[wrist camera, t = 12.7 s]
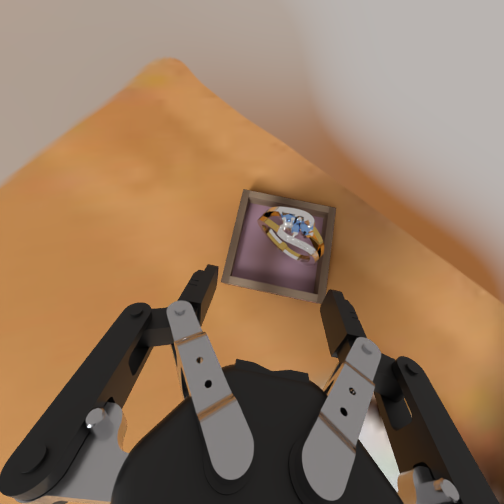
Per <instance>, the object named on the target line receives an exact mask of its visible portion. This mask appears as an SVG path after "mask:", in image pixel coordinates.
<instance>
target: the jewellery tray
mask: <svg viewBox="0 0 504 504" xmlns="http://www.w3.org/2000/svg"><path fill="white" fill-rule="evenodd" d="M272 207H289V208H295V209H300V210H303V211H306V212H307V213H309V214H310V215H312V217H313V218H314V220H315V227H316V229H317V230H318V232H319V233H320V235H321V237H322V240H323V243H324V253H323V255H322V256H321V258H320V259H319V260H318V261H317V262H316V263H315V264H314V265H313V266H311V267H308V266H304V265H301V264H299V263H297V262H295V261H293V260H291V259H290V258H289V257H287V256H286V255H285V254H283V253H281V252H280V251H279V250H278V249H277V247H276V246H275V245H274V244H273V243H272V242H271V241H270V240H269V239H268V237H267V236H266V235H265V234H264V232H263V231H262V230H261V228H260V226H259V225H258V222H257V220H258V219H259V218H260V217H261V216H262V214H263V213H265V212H266V211H267V210H268V209H270V208H272ZM335 213H336V208H334V207H329V206H324V205H319V204H314V203H309V202H304V201H299V200H294V199H290V198H285V197H280V196H275V195H270V194H265V193H260V192H255V191H250V190H245V189H243V193H242V197H241V201H240V206H239V210H238V214H237V218H236V222H235V226H234V230H233V234H232V238H231V243H230V247H229V251H228V255H227V259H226V263H225V267H224V271H223V275H222V280H221V282H222V283H225V284H230V285H234V286H239V287H244V288H248V289H253V290H258V291H262V292H267V293H272V294H276V295H281V296H286V297H290V298H295V299H300V300H304V301H309V302H314V303H320V304H322V302H323V300H324V298H325V296H326V288H327V280H328V271H329V263H330V255H331V246H332V238H333V230H334V222H335ZM269 219H270V220H272V221H273V222H275V223H276V224H277V225H279V226H280V225H282V224H283V221H281V220H280V218H279V216H272V217H269ZM304 223H305V222H304ZM305 224H306V223H305ZM306 225H307V224H306ZM307 226H308V225H307ZM271 229H272V228H271ZM272 231H273V232H274V233H275V235H276V236H277V237H278V238H279V239H280V240H281V241H283V242H284V243H286V244H287V246H288V247H289V248H290V249H291V250H293V251H294V252H296V253H298V254H301V255H305V256H309V254H308V253H307V252H306V251H305V250H303V249H301V248H299V247H297V246H295V245H292V244H290V243H288V242H286V241H284V240H283V239H281V238H280V237H279V236H278V234H277V232H276V231H275V230H273V229H272ZM284 232H285V233H287V232H286V231H284ZM287 234H288V235H290V236H291V234H290V232H289V233H287ZM295 238H296V239H299V240H301V241H303V242H305V243H307V244H309V245H310V246H312V247H313V244H312V242H311V240H310V239H309V238H307V239H305V238H303V236H302V235H301V234H299V233H298V235H297V236H296V237H295Z"/></svg>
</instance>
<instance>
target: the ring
mask: <svg viewBox="0 0 504 504" xmlns="http://www.w3.org/2000/svg"><path fill="white" fill-rule="evenodd" d="M272 216H279V218H280V220H281V221H283V224H282V225H280V226H279V225H277V224H276V223H275V222H273V221H272V220H270V219H269V217H272ZM257 222H258V225H259V226H260V228H261V230H262V231H263V232H264V234H265V235H266V236H267V237H268V239H269V240H270V241H271V242H272V243H273V244H274V245H275V246H276V247H277V249H278V250H279V251H280V252H281V253H283V254H285V255H286V256H287V257H289V258H290V259H291V260H293V261H295V262H297V263H299V264H301V265H304V266H308V267H311V266H313V265H314V264H315V263H316V262H317V261H318V260H319V259H320V258H321V256H322V255H323V253H324V243H323V240H322V237H321V235H320V233H319V232H318V230H317V229H316V227H315V220H314V218H313V217H312V215H310V214H309V213H307V212H306V211H303V210H300V209H295V208H289V207H272V208H270V209H268V210H267V211H266V212H265V213H263V214H262V216H261V217H260V218H259V219H258V220H257ZM304 222H305V223H306V224H307V225H308V226H307V225H306V224H305V223H304ZM271 228H272V229H273V230H275V231H276V232H277V234H278V236H279V237H280V238H281V239H283V240H284V241H286V242H288V243H290V244H292V245H295V246H297V247H299V248H301V249H303V250H305V251H306V252H307V253H308V254H309V256H305V255H301V254H298V253H296V252H294V251H293V250H291V249H290V248H289V247H288V246H287V244H286V243H284V242H283V241H281V240H280V239H279V238H278V237H277V236H276V235H275V233H274V232H273V231H272V229H271ZM284 231H286V232H287V233H289V232H290V234H291V236H290V235H288V234H287V233H285V232H284ZM298 233H299V234H301V235H302V236H303V238H305V239H307V238H309V239H310V240H311V242H312V244H313V247H312V246H310V245H309V244H307V243H305V242H303V241H301V240H299V239H296V238H295V237H296V236H297V235H298Z"/></svg>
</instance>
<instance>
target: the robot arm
mask: <svg viewBox="0 0 504 504" xmlns="http://www.w3.org/2000/svg"><path fill="white" fill-rule="evenodd" d="M217 278H218V266H214V265H209V264H208V265H207V267H206V269H205V271H203V270H198V271H197V272H195V273H194V274H193V275H192V277H191V279H190V281H189V282H188V284H187V286H186V287H185V289H184V291H183V292H182V294H181V296H180V297H179V299H178V301H176V302H174V303H172V304H171V305H169V307H166V308H158V309H151V307H150V306H149V305H148V304H146V303H135V304H132V305H130V306H128V307H127V308H125V309H124V311H123V312H122V313H121V314H120V316H119V317H118V318H117V320H116V321H115V322H114V323H113V325H112V326H111V327H110V329H109V330H108V331H107V332H106V334H105V335H104V336H103V338H102V339H101V340H100V342H99V343H98V344H97V345H96V347H95V348H94V349H93V351H92V352H91V353H90V354H89V356H88V357H87V358H86V360H85V361H84V362H83V363H82V365H81V366H80V367H79V369H78V370H77V371H76V373H75V374H74V375H73V376H72V378H71V379H70V380H69V382H68V383H67V384H66V385H65V387H64V388H63V389H62V391H61V392H60V393H59V394H58V396H57V397H56V398H55V400H54V401H53V402H52V403H51V405H50V406H49V407H48V409H47V410H46V411H45V413H44V414H43V415H42V416H41V418H40V419H39V420H38V422H37V423H36V424H35V425H34V427H33V428H32V429H31V431H30V432H29V433H28V434H27V436H26V437H25V438H24V440H23V441H22V442H21V443H20V445H19V446H18V447H17V449H16V450H15V451H14V453H13V454H12V455H11V456H10V458H9V459H8V461H7V462H6V464H5V465H4V467H3V469H2V472H1V474H0V492H1V493H2V494H4V495H6V496H9V497H12V498H15V500H16V501H18V502H20V503H23V504H65V503H67V502H68V501H70V502H80V503H90V504H499V502H498V500H497V499H496V497H495V495H494V493H493V492H492V490H491V488H490V486H489V485H488V483H487V481H486V479H485V478H484V476H483V474H482V472H481V471H480V469H479V467H478V465H477V463H476V462H475V460H474V458H473V456H472V455H471V453H470V451H469V449H468V448H467V446H466V444H465V442H464V441H463V439H462V437H461V435H460V434H459V432H458V430H457V428H456V427H455V425H454V423H453V421H452V420H451V418H450V416H449V414H448V412H447V411H446V409H445V407H444V405H443V404H442V402H441V400H440V398H439V397H438V395H437V393H436V391H435V390H434V388H433V386H432V384H431V383H430V381H429V379H428V377H427V376H426V374H425V372H424V371H423V369H422V368H421V367H420V366H419V365H418V364H417V363H416V362H415V361H413V360H411V359H410V358H407V357H404V356H401V357H398V358H397V359H396V360H395V359H393V358H390V357H388V356H386V355H384V354H382V353H381V352H380V350H379V348H378V347H377V346H376V344H374V343H373V342H372V341H371V340H369V339H367V337H366V335H365V333H364V330H363V328H362V326H361V324H360V321H359V320H358V317H357V314H356V312H355V310H354V308H353V306H352V305H351V304H350V303H349V301H348V300H345V299H344V296H343V294H342V292H340V291H336V290H331V289H330V290H329V291H328V292H327V294H326V296H325V298H324V300H323V302H322V304H321V307H320V313H321V317H322V321H323V325H324V329H325V334H326V338H327V342H328V346H329V350H330V354H331V357H336V358H338V359H339V362H338V364H337V365H336V367H335V369H334V370H333V372H332V374H331V376H330V378H329V379H328V381H327V383H326V385H325V386H324V388H323V389H321V388H320V387H318V386H317V385H316V384H315V383H313V382H311V381H310V380H309V377H308V373H303V372H298V371H293V370H284V371H270V370H268V369H266V368H264V367H262V366H260V365H258V364H256V363H254V362H249V361H244V360H239V359H236V363H235V364H234V365H228V366H225V367H222V368H221V366H220V364H219V362H218V359H217V357H216V355H215V352H214V350H213V348H212V345H211V343H210V340H209V338H208V336H207V334H206V333H205V332H203V331H202V329H201V326H202V323H203V321H204V318H205V316H206V313H207V310H208V308H209V305H210V303H211V300H212V298H213V295H214V292H215V290H216V286H217ZM169 344H170V346H171V349H172V353H173V357H174V361H175V365H176V369H177V373H178V379H179V384H180V388H181V392H182V396H183V401H182V402H181V403H180V404H179V405H178V406H177V407H176V408H175V409H174V410H172V411H171V412H170V413H169V414H168V415H167V416H166V417H165V418H164V419H163V420H162V421H160V422H159V423H158V424H157V425H156V426H155V427H154V428H153V429H152V430H151V431H150V432H148V433H147V434H146V435H145V436H144V437H143V438H142V439H141V440H140V441H139V442H138V443H137V444H136V445H135V446H134V448H133V449H132V450H131V452H130V453H126V452H124V451H123V440H124V436H125V433H126V430H127V420H126V418H125V416H124V413H123V411H122V408H123V406H124V404H125V402H126V400H127V398H128V396H129V394H130V392H131V390H132V388H133V386H134V384H135V382H136V380H137V378H138V376H139V374H140V372H141V370H142V368H143V366H144V364H145V362H146V360H147V358H148V356H149V354H150V352H151V350H152V349H153V347H154V346H161V345H169ZM373 392H374V395H375V398H376V401H377V404H378V407H379V410H380V413H381V416H382V419H383V422H384V425H385V428H386V432H387V435H388V438H389V441H390V444H391V447H392V450H393V453H394V456H395V459H396V462H397V465H398V468H399V471H400V475H399V476H398V490H399V491H398V493H397V492H396V490H395V489H394V488H393V486H392V485H391V484H390V482H389V481H388V479H387V478H386V477H385V475H384V474H383V472H382V471H381V470H380V468H379V467H378V465H377V464H376V463H375V461H374V460H373V459H372V457H371V456H370V454H369V453H368V452H367V450H366V449H365V447H364V446H363V445H362V443H361V442H360V440H359V439H358V437H359V434H360V431H361V428H362V425H363V422H364V419H365V416H366V413H367V410H368V407H369V404H370V401H371V398H372V395H373ZM404 398H405V399H406V401H407V404H408V406H409V408H410V410H411V413H412V417H411V415H410V412H409V410H408V408H407V405H406V403H405V401H404Z"/></svg>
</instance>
